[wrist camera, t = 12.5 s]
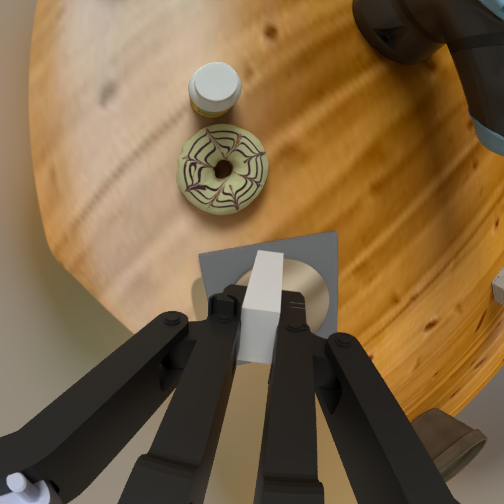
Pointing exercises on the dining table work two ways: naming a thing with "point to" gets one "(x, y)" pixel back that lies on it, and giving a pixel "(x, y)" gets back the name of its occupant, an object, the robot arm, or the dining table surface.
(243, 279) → the dial
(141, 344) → the robot arm
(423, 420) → the plant pot
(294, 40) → the dining table surface
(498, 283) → the supplement box
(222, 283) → the dial plate
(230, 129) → the decorated donut
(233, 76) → the supplement bottle
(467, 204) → the dining table surface
